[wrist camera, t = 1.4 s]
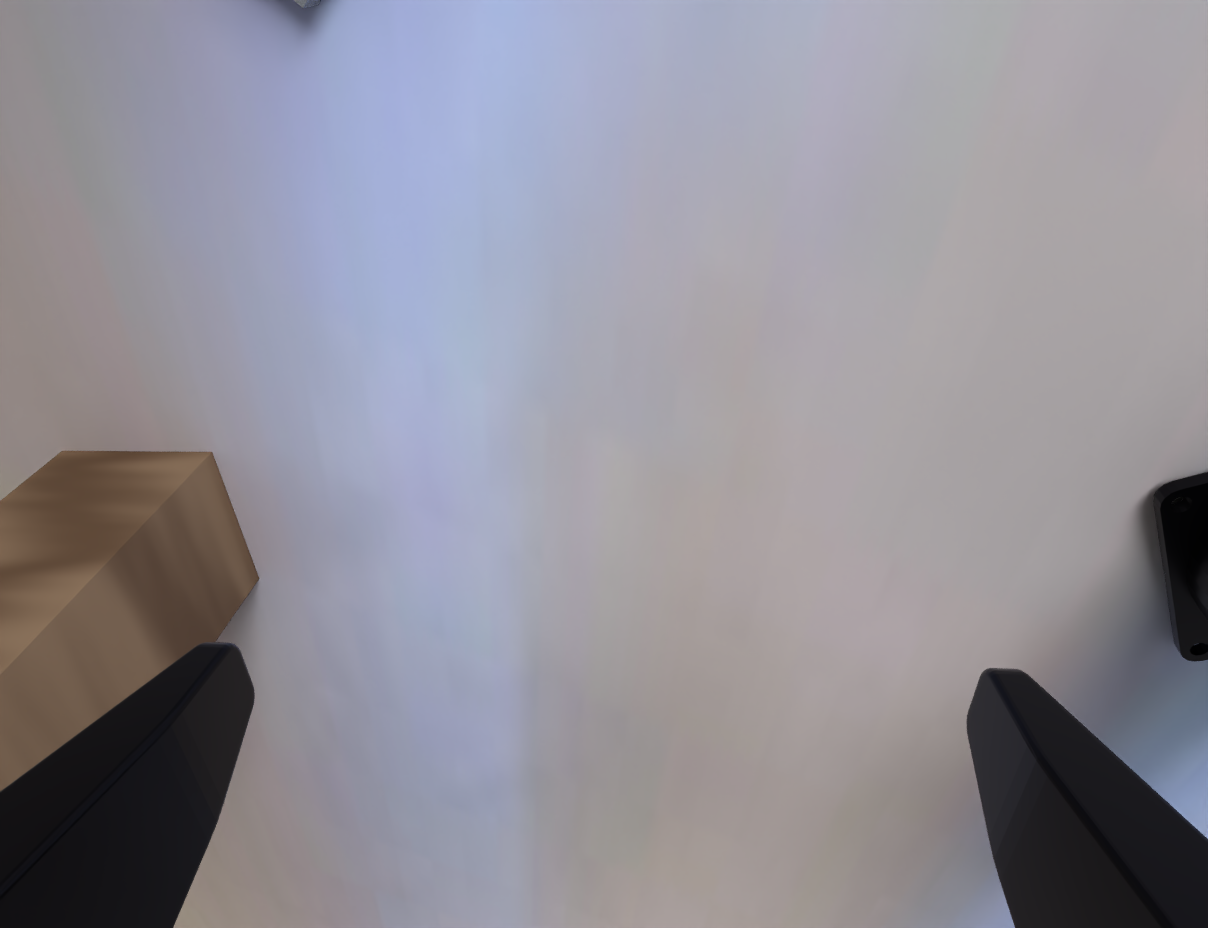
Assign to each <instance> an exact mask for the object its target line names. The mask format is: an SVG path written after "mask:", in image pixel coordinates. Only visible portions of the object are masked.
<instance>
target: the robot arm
mask: <svg viewBox="0 0 1208 928" xmlns="http://www.w3.org/2000/svg"><path fill="white" fill-rule="evenodd" d="M1179 497H1184V498H1183V499H1182V500H1181V501H1180V502H1177V503H1174V504H1171V503H1172V502H1173V501H1174V500H1175V499H1177V498H1179ZM1153 502H1154V508H1155V515H1156V522H1157V529H1158V536H1159V542H1160V549H1161V556H1162V563H1163V570H1164V576H1165V583H1166V590H1167V597H1168V604H1169V610H1170V617H1171V624H1172V631H1173V638H1174V644H1175V646H1176V647H1177V649H1178V651H1179V652H1180V654H1181V655H1182V657H1183V658H1185V659H1186V660H1189V661H1203V660H1208V472H1206V473H1203V474H1199V475H1195V476H1191V477H1187V478H1183V479H1179V480H1175V481H1172V482H1169V483H1167V484H1164V485H1163V486H1162V487H1161V488H1159V489H1158V490H1157V492H1156V493H1155V495H1154V501H1153ZM1198 643H1199V644H1198ZM1195 644H1196V645H1195ZM254 694H255V693H254V687H253V683H252V681H251V678H250V675H249V673H248V670H247V667H246V665H245V662H244V659H243V657H242V654H241V652H240V650H239V648H238V647H237V646H236V645H235V644H232V643H220V642H205V643H201V644H199V645H197V646H195V647H194V648H193V649H191V650H190V651H189V652H187V653H186V654H184V655H183V656H182V657H180V658H179V659H178V660H176V661H175V662H174V663H172V664H171V665H170V666H168V667H167V668H166V669H164V670H163V671H162V672H160V673H159V674H158V675H156V676H155V677H154V678H152V679H151V680H149V681H148V682H147V683H145V684H144V685H143V686H141V687H140V688H139V689H137V690H136V691H135V692H133V693H132V694H131V695H129V696H128V697H127V698H125V699H124V700H123V701H121V702H120V703H119V704H117V705H116V706H114V707H113V708H112V709H110V710H109V711H108V712H106V713H105V714H104V715H102V716H101V717H100V718H98V719H97V720H96V721H94V722H93V723H92V724H90V725H89V726H88V727H86V728H85V729H84V730H82V731H81V732H79V733H78V734H77V735H75V736H74V737H73V738H71V739H70V740H69V741H67V742H66V743H65V744H63V745H62V746H61V747H59V748H58V749H57V750H55V751H54V752H53V753H51V754H50V755H49V756H47V757H46V758H44V759H43V760H42V761H40V762H39V763H38V764H36V765H35V766H34V767H32V768H31V769H30V770H28V771H27V772H26V773H24V774H23V775H22V776H20V777H19V778H18V779H16V780H15V781H13V782H12V783H11V784H9V785H8V786H7V787H5V788H4V789H3V790H1V791H0V928H173V927H174V924H175V922H176V920H177V917H178V915H179V913H180V910H181V908H182V905H183V903H184V901H185V898H186V896H187V894H188V891H189V889H190V887H191V884H192V882H193V880H194V877H195V875H196V872H197V870H198V868H199V865H200V863H201V861H202V858H203V856H204V854H205V851H206V849H207V847H208V844H209V842H210V839H211V837H212V834H213V832H214V829H215V827H216V824H217V822H218V819H219V816H220V813H221V810H222V807H223V804H224V800H225V797H226V794H227V791H228V787H229V784H230V781H231V778H232V774H233V771H234V768H235V764H236V761H237V758H238V755H239V751H240V748H241V745H242V741H243V738H244V735H245V732H246V728H247V725H248V722H249V718H250V715H251V712H252V709H253V705H254ZM967 734H968V739H969V744H970V749H971V754H972V758H973V763H974V768H975V773H976V778H977V783H978V788H979V793H980V798H981V802H982V807H983V812H984V817H985V822H986V827H987V832H988V837H989V841H990V845H991V850H992V854H993V859H994V862H995V865H996V869H997V872H998V876H999V879H1000V882H1001V885H1002V888H1003V892H1004V895H1005V898H1006V901H1007V904H1008V907H1009V910H1010V913H1011V916H1012V919H1013V922H1014V926H1015V928H1208V839H1207V838H1206V837H1205V836H1204V835H1203V834H1202V833H1200V832H1199V831H1198V830H1197V829H1196V828H1195V827H1194V826H1193V825H1192V824H1191V823H1190V822H1188V821H1187V820H1186V819H1185V818H1184V817H1183V816H1182V815H1181V814H1180V813H1179V812H1177V811H1176V810H1175V809H1174V808H1173V807H1172V806H1171V805H1170V804H1169V803H1168V802H1167V801H1165V800H1164V799H1163V798H1162V797H1161V796H1160V795H1159V794H1158V793H1157V792H1156V791H1155V790H1153V789H1152V788H1151V787H1150V786H1149V785H1148V784H1147V783H1146V782H1145V781H1144V780H1143V779H1141V778H1140V777H1139V776H1138V775H1137V774H1136V773H1135V772H1134V771H1133V770H1132V769H1130V768H1129V767H1128V766H1127V765H1126V764H1125V763H1124V762H1123V761H1122V760H1121V759H1120V758H1118V757H1117V756H1116V755H1115V754H1114V753H1113V752H1112V751H1111V750H1110V749H1109V748H1108V747H1106V746H1105V745H1104V744H1103V743H1102V742H1101V741H1100V740H1099V739H1098V738H1097V737H1096V736H1094V735H1093V734H1092V733H1091V732H1090V731H1089V730H1088V729H1087V728H1086V727H1085V726H1083V725H1082V724H1081V723H1080V722H1079V721H1078V720H1077V719H1076V718H1075V717H1074V716H1073V715H1071V714H1070V713H1069V712H1068V711H1067V710H1066V709H1065V708H1064V707H1063V706H1062V705H1061V704H1059V703H1058V702H1057V701H1056V700H1055V699H1054V698H1053V697H1052V696H1051V695H1050V694H1049V693H1047V692H1046V691H1045V690H1044V689H1043V688H1042V687H1041V686H1040V685H1039V684H1038V683H1037V682H1035V681H1034V680H1033V679H1032V678H1031V677H1030V676H1029V675H1028V674H1026V673H1025V672H1023V671H1021V670H1018V669H1000V668H989V669H986V670H984V671H983V672H982V674H981V676H980V678H979V681H978V684H977V687H976V690H975V693H974V696H973V699H972V702H971V705H970V708H969V711H968V715H967Z"/></svg>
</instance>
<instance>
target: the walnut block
mask: <svg viewBox="0 0 1208 928" xmlns="http://www.w3.org/2000/svg"><path fill="white" fill-rule="evenodd" d="M258 579H259V577H258V574H257V571H256V569H255V566H254V563H253V561H252V558H251V555H250V553H249V550H248V547H247V545H246V542H245V539H244V537H243V534H242V531H241V528H240V526H239V523H238V520H237V518H236V515H235V512H234V510H233V507H232V504H231V502H230V499H229V496H228V494H227V491H226V488H225V486H224V483H223V480H222V477H221V475H220V472H219V469H218V467H217V464H216V461H215V459H214V456H213V453H212V452H130V451H62V452H60V453H59V454H58V455H57V456H55V457H54V458H53V459H52V460H50V461H49V462H48V463H47V464H45V465H44V466H43V467H42V468H41V469H39V470H38V471H37V472H36V473H34V474H33V475H32V476H31V477H29V478H28V479H27V480H26V481H24V482H23V483H22V484H21V485H20V486H18V487H17V488H16V489H15V490H13V491H12V492H11V493H10V494H8V495H7V496H6V497H5V498H3V499H2V500H1V501H0V791H1V790H3V789H4V788H5V787H7V786H8V785H9V784H11V783H12V782H13V781H15V780H16V779H18V778H19V777H20V776H22V775H23V774H24V773H26V772H27V771H28V770H30V769H31V768H32V767H34V766H35V765H36V764H38V763H39V762H40V761H42V760H43V759H44V758H46V757H47V756H49V755H50V754H51V753H53V752H54V751H55V750H57V749H58V748H59V747H61V746H62V745H63V744H65V743H66V742H67V741H69V740H70V739H71V738H73V737H74V736H75V735H77V734H78V733H79V732H81V731H82V730H84V729H85V728H86V727H88V726H89V725H90V724H92V723H93V722H94V721H96V720H97V719H98V718H100V717H101V716H102V715H104V714H105V713H106V712H108V711H109V710H110V709H112V708H113V707H114V706H116V705H117V704H119V703H120V702H121V701H123V700H124V699H125V698H127V697H128V696H129V695H131V694H132V693H133V692H135V691H136V690H137V689H139V688H140V687H141V686H143V685H144V684H145V683H147V682H148V681H149V680H151V679H152V678H154V677H155V676H156V675H158V674H159V673H160V672H162V671H163V670H164V669H166V668H167V667H168V666H170V665H171V664H172V663H174V662H175V661H176V660H178V659H179V658H180V657H182V656H183V655H184V654H186V653H187V652H189V651H190V650H191V649H193V648H194V647H195V646H197V645H199V644H201V643H205V642H215V641H216V640H217V638H218V637H219V636H220V634H221V633H222V631H223V630H224V628H225V627H226V625H227V624H228V623H229V621H230V620H231V618H232V617H233V615H234V614H235V613H236V611H237V610H238V608H239V607H240V605H241V604H242V602H243V601H244V600H245V598H246V597H247V595H248V594H249V592H250V591H251V590H252V588H253V587H254V585H255V584H256V582H257V581H258Z"/></svg>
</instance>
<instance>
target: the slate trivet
mask: <svg viewBox="0 0 1208 928" xmlns="http://www.w3.org/2000/svg"><path fill="white" fill-rule="evenodd" d="M294 1H295V2H296V3H297V4H299V5H300V6H301V7H302V8H306V7H311V6H316V5H318V4H319V3H320V1H321V0H294Z"/></svg>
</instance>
